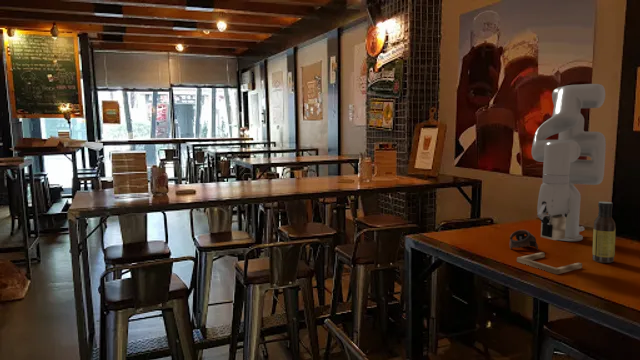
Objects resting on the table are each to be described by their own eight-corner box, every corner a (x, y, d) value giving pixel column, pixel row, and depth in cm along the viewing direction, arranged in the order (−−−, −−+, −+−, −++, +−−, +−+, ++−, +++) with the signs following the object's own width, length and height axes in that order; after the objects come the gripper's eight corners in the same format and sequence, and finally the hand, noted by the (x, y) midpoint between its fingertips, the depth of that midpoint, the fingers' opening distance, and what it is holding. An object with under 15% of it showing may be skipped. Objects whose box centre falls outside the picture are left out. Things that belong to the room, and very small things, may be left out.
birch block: (550, 235, 147) (551, 214, 146) (564, 238, 143) (566, 217, 142) (540, 236, 145) (541, 215, 144) (554, 240, 140) (555, 218, 140)
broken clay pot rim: (544, 254, 158) (537, 236, 156) (519, 264, 160) (511, 246, 158) (531, 237, 169) (524, 220, 167) (507, 247, 171) (500, 230, 169)
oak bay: (541, 256, 154) (541, 252, 154) (582, 268, 141) (582, 263, 141) (516, 261, 148) (517, 257, 148) (556, 274, 135) (556, 269, 135)
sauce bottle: (618, 262, 146) (623, 203, 143) (602, 264, 144) (607, 204, 142) (602, 257, 152) (606, 200, 149) (586, 258, 150) (590, 201, 148)
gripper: (561, 177, 149) (558, 230, 151) (527, 180, 141) (524, 235, 143) (583, 179, 142) (580, 234, 144) (549, 182, 134) (545, 241, 137)
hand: (552, 234), depth 144 cm, fingers closed on birch block, 5 cm apart
